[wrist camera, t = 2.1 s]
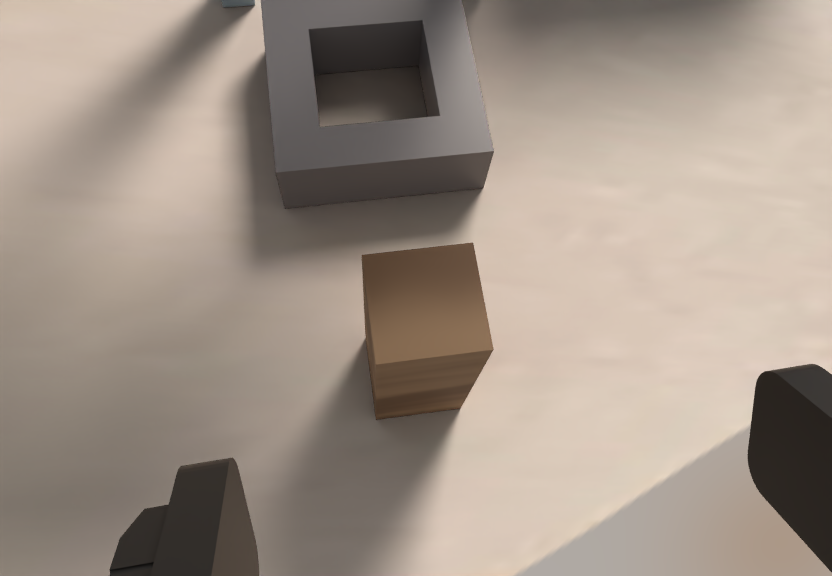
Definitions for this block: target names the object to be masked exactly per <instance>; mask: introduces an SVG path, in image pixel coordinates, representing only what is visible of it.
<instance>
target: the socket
mask: <svg viewBox="0 0 832 576" xmlns="http://www.w3.org/2000/svg"><path fill="white" fill-rule="evenodd" d="M261 8H262V20H263V31H264V43H265V55H266V66H267V78H268V90H269V101H270V113H271V124H272V136H273V148H274V159H275V171H276V176H277V180H278V184H279V187H280V191H281V195H282V199H283V203H284V207H285V209H286V208H296V207H305V206H315V205H325V204H334V203H344V202H353V201H363V200H373V199H382V198H392V197H402V196H411V195H421V194H430V193H440V192H450V191H459V190H469V189H479V188H483V187H484V184H485V180H486V177H487V173H488V170H489V167H490V163H491V160H492V156H493V153H494V149H493V144H492V139H491V135H490V130H489V125H488V121H487V116H486V111H485V107H484V102H483V97H482V92H481V88H480V83H479V78H478V74H477V69H476V64H475V59H474V55H473V50H472V45H471V41H470V36H469V31H468V26H467V22H466V17H465V12H464V8H463V3H462V0H261ZM409 66H419V71H420V76H421V82H422V88H423V93H424V99H425V104H426V110H427V116H428V117H422V118H411V119H400V120H389V121H378V122H368V123H357V124H346V125H335V126H325V127H320V120H319V111H318V103H317V94H316V85H315V76H314V75H316V74H327V73H339V72H351V71H362V70H374V69H386V68H398V67H409Z"/></svg>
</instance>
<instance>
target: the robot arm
mask: <svg viewBox="0 0 832 576" xmlns="http://www.w3.org/2000/svg"><path fill="white" fill-rule="evenodd" d="M748 465H749V469H750V473H751V476H752V479H753V481H754V483H755V485H756V487H757V489H758V490H759V492H760V493H761V494H762V496H763V497H764V498H765V499H766V500H767V501H768V502H769V504H770V505H771V506H772V507H773V508H774V509H775V510H776V511H777V512H778V514H779V515H780V516H781V517H782V518H783V519H784V520H785V521H786V522H787V523H788V524H789V526H790V527H791V528H792V529H793V530H794V531H795V532H796V533H797V534H798V536H799V537H800V538H801V539H802V540H803V541H804V542H805V543H806V544H807V545H808V547H809V548H810V549H811V550H812V551H813V552H814V553H815V554H816V556H817V557H818V558H819V559H820V560H821V561H822V562H823V563H824V564H825V565H826V567H827V568H828V569H829V570H830V571H831V572H832V374H830V373H829V372H827V371H826V370H825V369H823V368H822V367H820V366H818V365H815V364H808V365H802V366H796V367H790V368H784V369H777V370H771V371H765V372H763V373H762V374H761V375H760V376H759V377H758V379H757V382H756V387H755V395H754V404H753V412H752V421H751V429H750V438H749V446H748ZM110 576H259V564H258V554H257V546H256V541H255V536H254V532H253V528H252V524H251V519H250V515H249V511H248V507H247V503H246V499H245V495H244V490H243V486H242V482H241V478H240V474H239V470H238V466H237V463H236V461H235V460H234V458H228V459H222V460H215V461H209V462H203V463H197V464H191V465H185V466H181V467H180V468H179V469H178V472H177V475H176V479H175V483H174V487H173V491H172V495H171V498H170V502H169V505H164V506H159V507H153V508H147V509H144V510H143V511H142V512H141V514H140V515H139V516H138V517H137V518H136V520H135V521H134V522H133V523H132V524H131V526H130V527H129V528H128V529H127V531H126V532H125V533H124V534H123V535H122V537H121V538H120V540H119V543H118V546H117V549H116V552H115V555H114V558H113V561H112V564H111V567H110Z"/></svg>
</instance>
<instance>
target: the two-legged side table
mask: <svg viewBox="0 0 832 576" xmlns="http://www.w3.org/2000/svg"><path fill="white" fill-rule="evenodd" d="M221 2H222V5H223V7H236V6H249V5H255V1H254V0H221Z"/></svg>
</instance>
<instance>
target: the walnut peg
mask: <svg viewBox="0 0 832 576" xmlns="http://www.w3.org/2000/svg"><path fill="white" fill-rule="evenodd" d="M362 271H363V292H364V313H365V334H366V344H367V352H368V360H369V368H370V376H371V384H372V392H373V400H374V408H375V416H376V420H378V419H385V418H393V417H400V416H408V415H415V414H422V413H430V412H437V411H445V410H452V409H459V408H461V406H462V405H463V403H464V401H465V399H466V398H467V396H468V394H469V392H470V390H471V389H472V387H473V385H474V383H475V382H476V380H477V378H478V376H479V374H480V373H481V371H482V369H483V367H484V365H485V364H486V362H487V360H488V358H489V357H490V355H491V353H492V351H493V345H492V340H491V334H490V329H489V324H488V319H487V313H486V308H485V303H484V298H483V292H482V287H481V282H480V277H479V271H478V266H477V261H476V255H475V250H474V245H473V243H465V244H456V245H447V246H438V247H429V248H420V249H411V250H403V251H394V252H385V253H376V254H367V255H362Z"/></svg>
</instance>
